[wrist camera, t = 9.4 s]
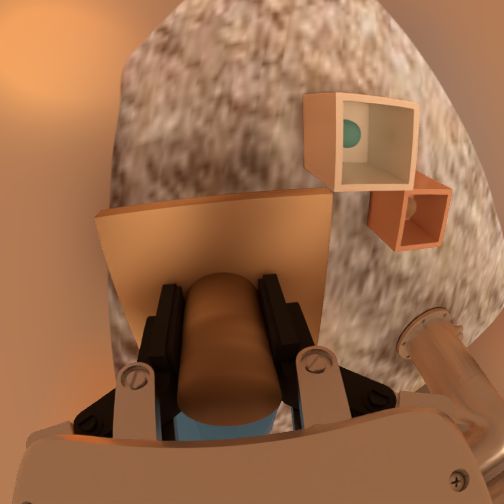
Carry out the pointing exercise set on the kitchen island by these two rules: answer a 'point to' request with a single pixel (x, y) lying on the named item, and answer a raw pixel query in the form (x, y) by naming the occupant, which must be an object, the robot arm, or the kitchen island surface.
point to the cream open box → (361, 141)
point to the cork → (410, 207)
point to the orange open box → (419, 224)
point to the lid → (222, 286)
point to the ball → (350, 134)
